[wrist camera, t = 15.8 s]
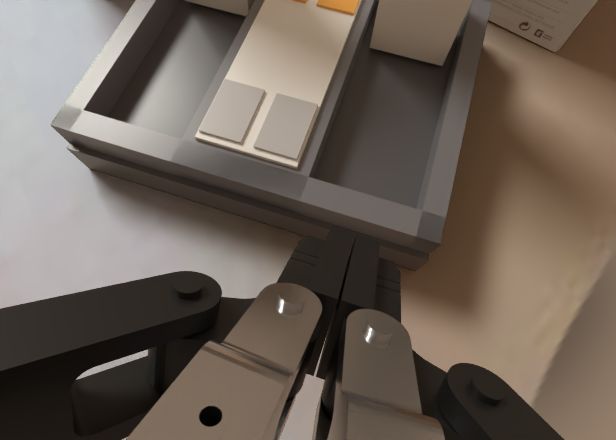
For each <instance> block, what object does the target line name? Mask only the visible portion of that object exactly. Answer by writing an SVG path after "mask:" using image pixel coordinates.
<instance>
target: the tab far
mask: <svg viewBox="0 0 616 440" xmlns="http://www.w3.org/2000/svg"><path fill="white" fill-rule="evenodd" d="M185 1H188V2H192V3H196V4H199V5H203V6H207V7H211V8H215V9H219V10H223V11H227V12H231V13H235V14H239V15H243V16H247V15H248V13H249V11H250V9H251V7H252V5H253V3H254V1H255V0H185Z"/></svg>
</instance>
